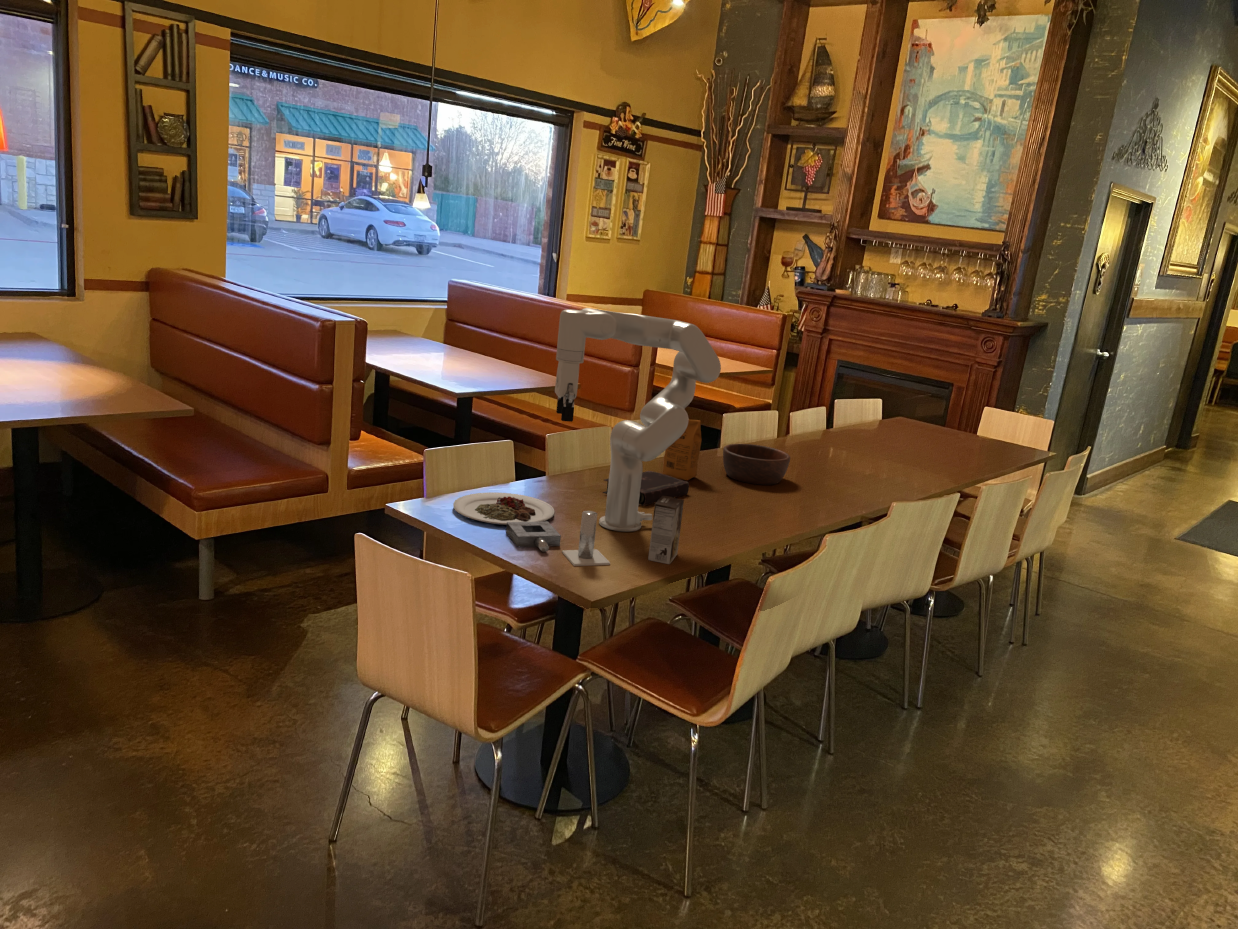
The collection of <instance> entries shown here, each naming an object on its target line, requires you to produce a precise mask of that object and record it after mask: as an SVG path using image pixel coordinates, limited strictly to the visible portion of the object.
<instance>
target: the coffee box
mask: <svg viewBox="0 0 1238 929" xmlns="http://www.w3.org/2000/svg"><path fill="white" fill-rule="evenodd" d="M684 502H685V499H682V498H677V497H669V496H662V497H661V498H660V499H659V500H658V501H657V502H655V503H654V508H653V515H652V523H651V524H652V526H651V534H650V541H649V542H650V543H649V550H648V556H647V557H648V558H647V559H648V561H652V562H656V563H661V564H666V565H671V563H672V562H673V561H674V559H675V558H676V556H677V555H678V552H679V544H680V543H679V542H680V535H681V528H682V518H683V512H684V511H683V510H684V505H685V504H684Z"/></svg>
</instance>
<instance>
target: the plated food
mask: <svg viewBox="0 0 1238 929" xmlns="http://www.w3.org/2000/svg"><path fill="white" fill-rule="evenodd" d="M452 504H453V509H454V511H456V512H457V513H458V514H460V515H461V516H464V517H465V518H469V519H471V520H474V521H479V522H484V523H487V524H494V525H500V526H501V525H502V526H503V525H504V526H507V522H544V521H548V520H550V519H551V518H553V517H554V515H555V509H554V507H553V506H552V505H551V504H549V503H548V502H546V501H544V500H542V499H538V498H536V497H532V496H529V495H523V494H518V493H508V492H478V493H470V494H466V495H462V496H460V497H458V498H457V499H455V500H454V502H453V503H452Z"/></svg>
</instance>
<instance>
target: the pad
mask: <svg viewBox="0 0 1238 929" xmlns="http://www.w3.org/2000/svg"><path fill="white" fill-rule="evenodd" d="M578 550H579V549H568V550H567V549H564V550H561V553H562V554H563V555H564V557H565V558H566V559H567V560H568V561H569V563H570V564H572V566H573V567H585V566H610V565H611V562H610V560H608V559H607V557H605V555H603V554H602V553H601V551H599V549H596V548H594V551H593V558H591V559H583V558H580V557H578Z"/></svg>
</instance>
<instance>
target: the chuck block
mask: <svg viewBox="0 0 1238 929" xmlns="http://www.w3.org/2000/svg"><path fill="white" fill-rule="evenodd" d="M505 528H506V529H505V533H506V534H507V536H508V538H510V540H512V542H513V543H514V545H515V546H516V547H517V548H532V547H534V548H535V547H537V548H539V550H540V551H541V552H543V553H546V552H548V551H549V549H550V547H560V546H561V537H562V535H561V534H560V533H559V532H558V530H556V528H555V527H554V526H553V525H552V524H551V523H550V522H549V521H548V520H546V521H542V522H507V525H505Z"/></svg>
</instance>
